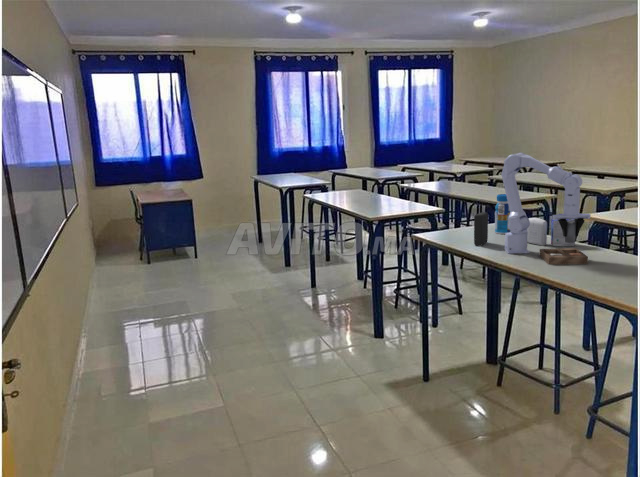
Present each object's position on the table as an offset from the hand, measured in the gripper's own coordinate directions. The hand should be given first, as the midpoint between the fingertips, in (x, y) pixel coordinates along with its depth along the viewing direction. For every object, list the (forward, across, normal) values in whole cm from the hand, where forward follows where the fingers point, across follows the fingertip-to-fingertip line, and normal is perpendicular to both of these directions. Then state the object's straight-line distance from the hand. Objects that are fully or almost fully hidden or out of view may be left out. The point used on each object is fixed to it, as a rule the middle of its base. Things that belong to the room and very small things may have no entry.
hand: (570, 236), depth 221 cm
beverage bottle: (+10, -17, +52) cm, 55 cm away
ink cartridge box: (+10, +4, +22) cm, 25 cm away
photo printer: (+10, -7, +26) cm, 29 cm away
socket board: (+10, -4, -2) cm, 10 cm away
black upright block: (+10, -32, +29) cm, 44 cm away
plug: (+2, 0, 0) cm, 2 cm away
